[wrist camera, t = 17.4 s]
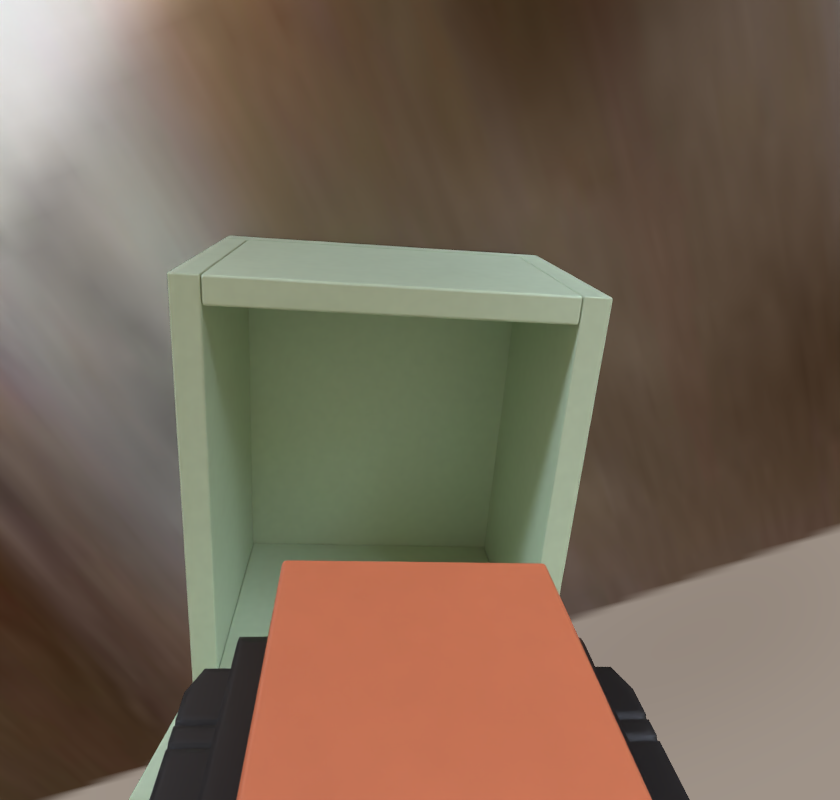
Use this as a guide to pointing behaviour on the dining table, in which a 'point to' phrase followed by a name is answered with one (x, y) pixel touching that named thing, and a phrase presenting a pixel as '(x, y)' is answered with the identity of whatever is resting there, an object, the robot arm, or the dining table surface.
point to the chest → (372, 414)
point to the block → (429, 689)
